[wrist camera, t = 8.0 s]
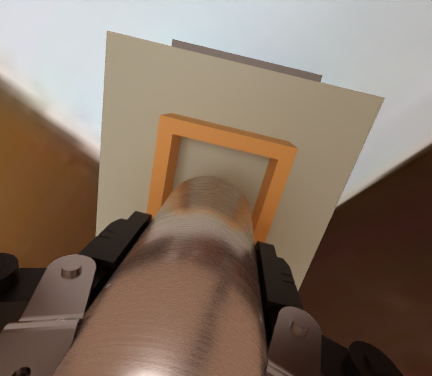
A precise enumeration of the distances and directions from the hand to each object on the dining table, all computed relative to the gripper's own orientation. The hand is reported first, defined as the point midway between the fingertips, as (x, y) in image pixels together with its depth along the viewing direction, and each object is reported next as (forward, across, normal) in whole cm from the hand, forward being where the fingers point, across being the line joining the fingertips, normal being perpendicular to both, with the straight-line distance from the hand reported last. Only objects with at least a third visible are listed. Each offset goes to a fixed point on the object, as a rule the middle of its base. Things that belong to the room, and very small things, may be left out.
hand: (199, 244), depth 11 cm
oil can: (+3, 0, +1) cm, 3 cm away
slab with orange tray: (+16, 0, 0) cm, 16 cm away
